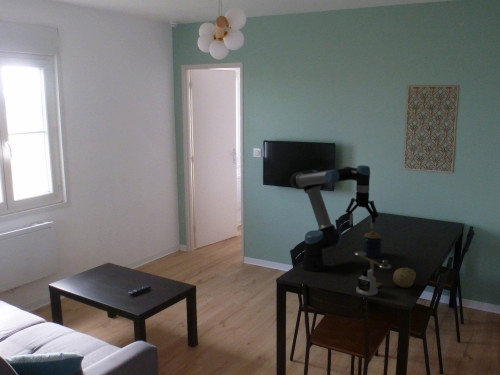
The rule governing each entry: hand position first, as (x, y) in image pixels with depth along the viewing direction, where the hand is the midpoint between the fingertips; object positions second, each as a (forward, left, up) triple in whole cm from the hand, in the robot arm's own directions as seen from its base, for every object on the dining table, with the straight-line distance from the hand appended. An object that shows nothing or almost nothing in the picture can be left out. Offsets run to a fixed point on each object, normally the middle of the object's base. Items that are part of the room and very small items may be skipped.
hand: (361, 226), depth 282 cm
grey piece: (+14, -19, -31) cm, 39 cm away
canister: (-10, +39, -32) cm, 51 cm away
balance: (+12, -9, -32) cm, 35 cm away
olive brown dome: (+27, +2, -32) cm, 42 cm away
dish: (+14, -19, -32) cm, 40 cm away
